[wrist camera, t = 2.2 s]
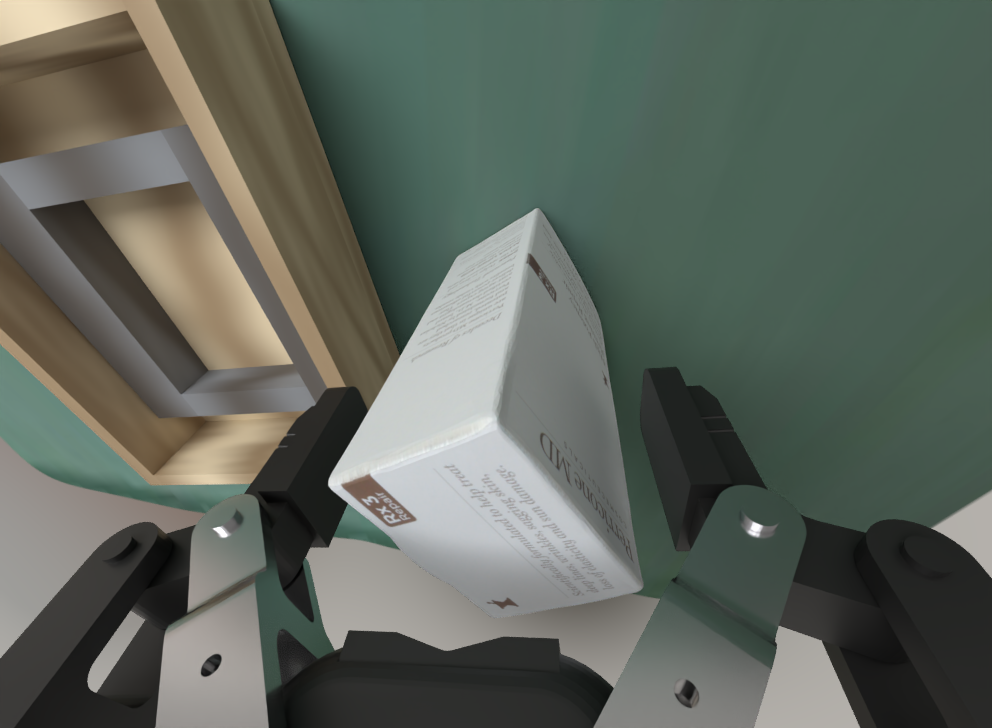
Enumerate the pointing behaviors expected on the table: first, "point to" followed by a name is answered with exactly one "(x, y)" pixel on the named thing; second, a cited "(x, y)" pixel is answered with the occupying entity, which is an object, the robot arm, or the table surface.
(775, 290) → the table surface
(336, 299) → the crate
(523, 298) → the skincare box
